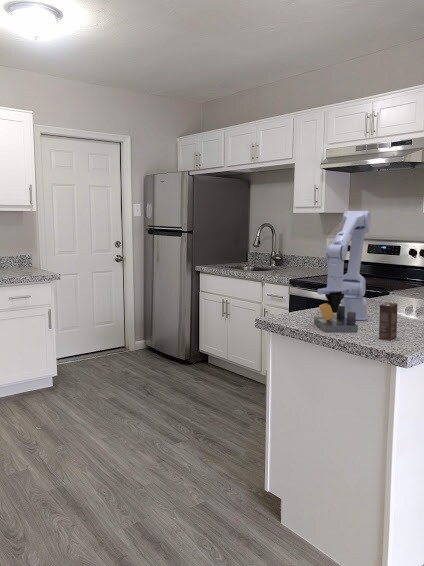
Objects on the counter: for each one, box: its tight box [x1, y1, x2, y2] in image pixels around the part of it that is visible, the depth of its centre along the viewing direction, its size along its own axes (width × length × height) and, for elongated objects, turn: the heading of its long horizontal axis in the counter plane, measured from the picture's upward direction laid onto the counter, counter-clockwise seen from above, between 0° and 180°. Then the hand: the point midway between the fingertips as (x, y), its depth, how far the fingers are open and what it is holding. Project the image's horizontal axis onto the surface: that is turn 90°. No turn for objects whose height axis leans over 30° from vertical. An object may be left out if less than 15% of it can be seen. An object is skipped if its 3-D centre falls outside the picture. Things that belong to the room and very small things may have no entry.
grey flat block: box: [313, 316, 359, 334], centre depth 184 cm, size 12×15×3 cm
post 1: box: [336, 305, 345, 319], centre depth 190 cm, size 3×3×4 cm
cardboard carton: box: [318, 302, 336, 322], centre depth 183 cm, size 3×6×6 cm, turn 3°
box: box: [378, 302, 398, 341], centre depth 168 cm, size 6×4×12 cm
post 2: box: [347, 312, 357, 326], centre depth 178 cm, size 3×3×4 cm
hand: (333, 312), depth 183 cm, fingers closed
